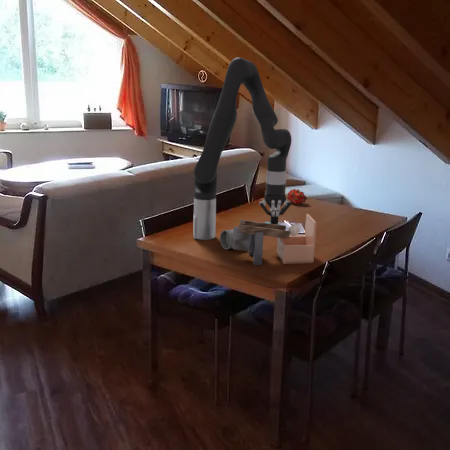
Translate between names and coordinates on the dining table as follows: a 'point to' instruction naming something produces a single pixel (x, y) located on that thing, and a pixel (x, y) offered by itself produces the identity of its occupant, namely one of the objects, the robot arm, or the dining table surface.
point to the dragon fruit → (296, 196)
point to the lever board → (246, 230)
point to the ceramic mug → (226, 239)
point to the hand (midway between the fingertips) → (274, 225)
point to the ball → (293, 230)
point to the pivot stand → (256, 247)
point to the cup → (298, 245)
